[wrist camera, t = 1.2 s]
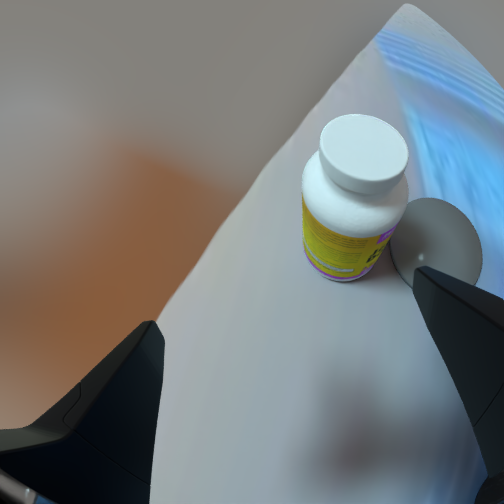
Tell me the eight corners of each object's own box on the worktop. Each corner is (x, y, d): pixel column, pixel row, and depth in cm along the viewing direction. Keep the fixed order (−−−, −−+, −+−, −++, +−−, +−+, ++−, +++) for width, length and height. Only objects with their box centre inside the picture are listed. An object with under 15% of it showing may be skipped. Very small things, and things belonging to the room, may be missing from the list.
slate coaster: (481, 220, 23) (483, 217, 23) (472, 313, 20) (476, 312, 20) (398, 188, 26) (399, 184, 25) (378, 281, 23) (379, 279, 23)
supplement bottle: (360, 296, 23) (412, 223, 11) (289, 263, 25) (276, 168, 13) (386, 230, 25) (433, 128, 13) (321, 202, 27) (326, 90, 15)
